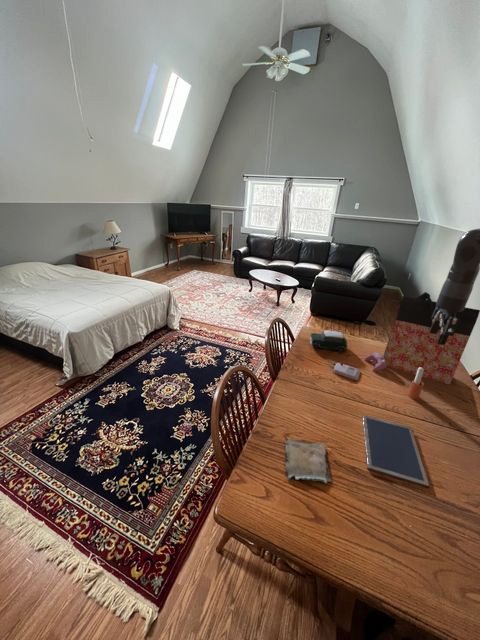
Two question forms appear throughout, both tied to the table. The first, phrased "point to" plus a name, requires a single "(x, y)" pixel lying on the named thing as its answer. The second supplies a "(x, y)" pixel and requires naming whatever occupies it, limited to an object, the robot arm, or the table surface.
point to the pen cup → (415, 390)
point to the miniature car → (329, 340)
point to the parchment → (306, 461)
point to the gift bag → (426, 340)
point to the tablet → (393, 451)
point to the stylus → (419, 375)
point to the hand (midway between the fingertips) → (436, 338)
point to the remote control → (346, 370)
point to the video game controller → (377, 361)
